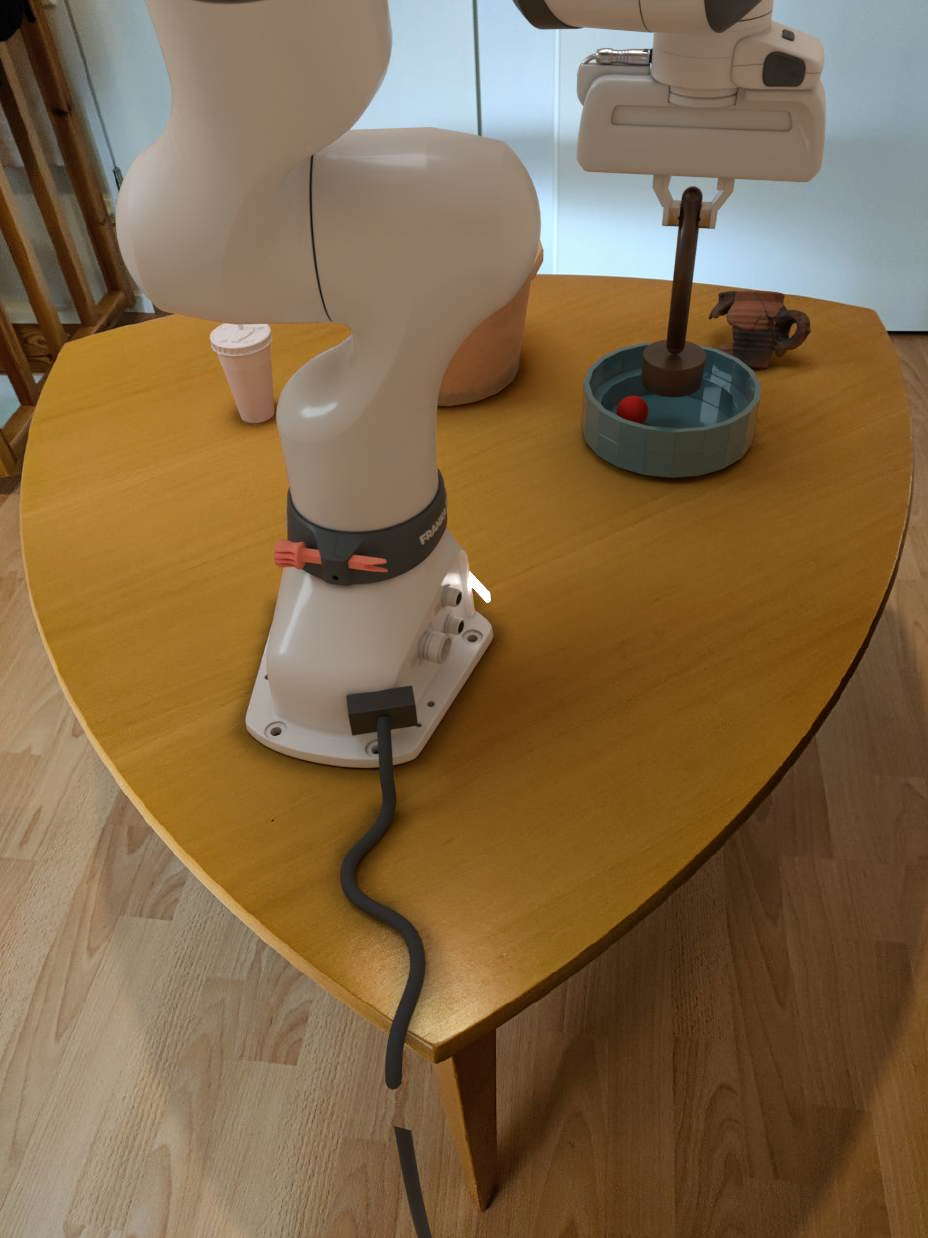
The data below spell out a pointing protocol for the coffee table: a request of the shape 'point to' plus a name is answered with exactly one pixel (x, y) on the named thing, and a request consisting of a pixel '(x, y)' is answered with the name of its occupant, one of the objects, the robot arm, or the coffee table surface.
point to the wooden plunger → (678, 316)
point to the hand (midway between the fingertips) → (689, 225)
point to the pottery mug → (760, 325)
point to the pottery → (489, 351)
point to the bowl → (671, 416)
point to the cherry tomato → (633, 409)
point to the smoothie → (247, 367)
